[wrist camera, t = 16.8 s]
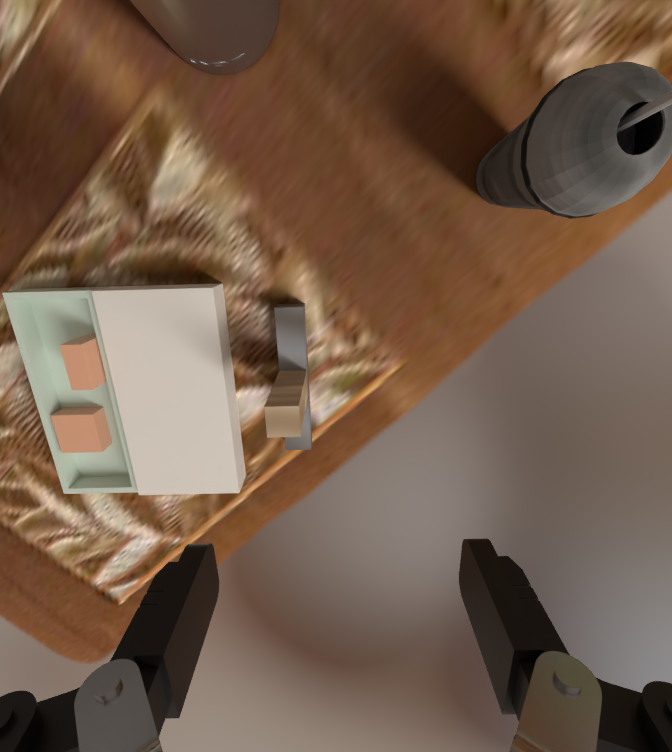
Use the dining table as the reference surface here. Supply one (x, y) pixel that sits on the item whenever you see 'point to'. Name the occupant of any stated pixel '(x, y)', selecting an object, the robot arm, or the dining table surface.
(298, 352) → the scraper
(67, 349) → the tile
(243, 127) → the dining table surface
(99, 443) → the tile
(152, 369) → the stone plate
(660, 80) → the beverage cup
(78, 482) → the tray
